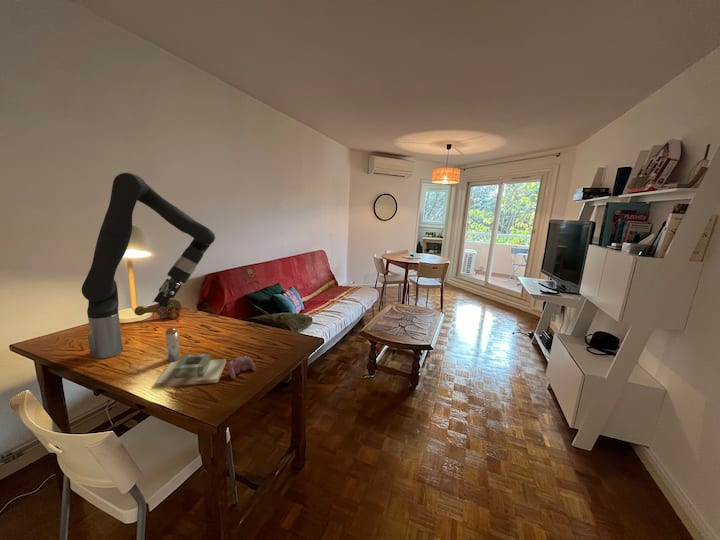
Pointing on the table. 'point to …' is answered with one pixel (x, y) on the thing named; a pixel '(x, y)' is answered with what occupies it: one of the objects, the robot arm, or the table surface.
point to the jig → (192, 371)
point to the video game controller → (238, 361)
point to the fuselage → (172, 344)
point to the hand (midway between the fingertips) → (158, 304)
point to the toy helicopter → (162, 309)
